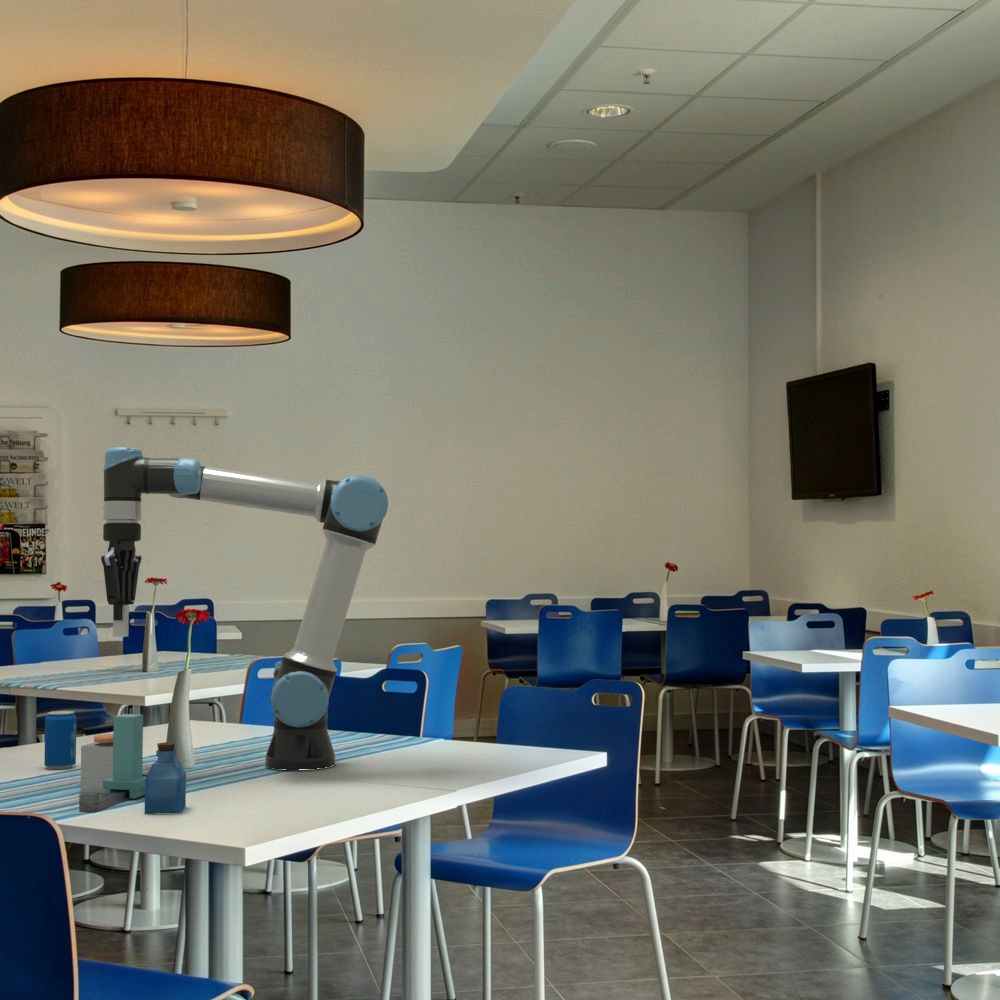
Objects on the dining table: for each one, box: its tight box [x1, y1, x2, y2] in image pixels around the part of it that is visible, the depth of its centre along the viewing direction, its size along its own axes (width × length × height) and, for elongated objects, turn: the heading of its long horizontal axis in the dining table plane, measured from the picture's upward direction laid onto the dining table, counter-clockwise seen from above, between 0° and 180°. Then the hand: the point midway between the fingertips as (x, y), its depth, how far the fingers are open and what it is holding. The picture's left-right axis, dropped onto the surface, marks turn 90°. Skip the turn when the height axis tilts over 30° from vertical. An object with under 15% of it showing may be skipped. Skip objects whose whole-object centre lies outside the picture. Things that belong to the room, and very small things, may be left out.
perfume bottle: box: [144, 742, 187, 815], centre depth 236 cm, size 6×6×12 cm
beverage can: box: [43, 710, 77, 771], centre depth 283 cm, size 6×6×12 cm
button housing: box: [79, 742, 113, 795], centre depth 256 cm, size 7×7×9 cm
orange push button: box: [93, 733, 113, 746], centre depth 256 cm, size 5×5×6 cm
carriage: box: [103, 713, 146, 800], centre depth 249 cm, size 7×6×15 cm
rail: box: [78, 772, 148, 813], centre depth 246 cm, size 3×24×3 cm, turn 168°
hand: (120, 636), depth 269 cm, fingers closed
